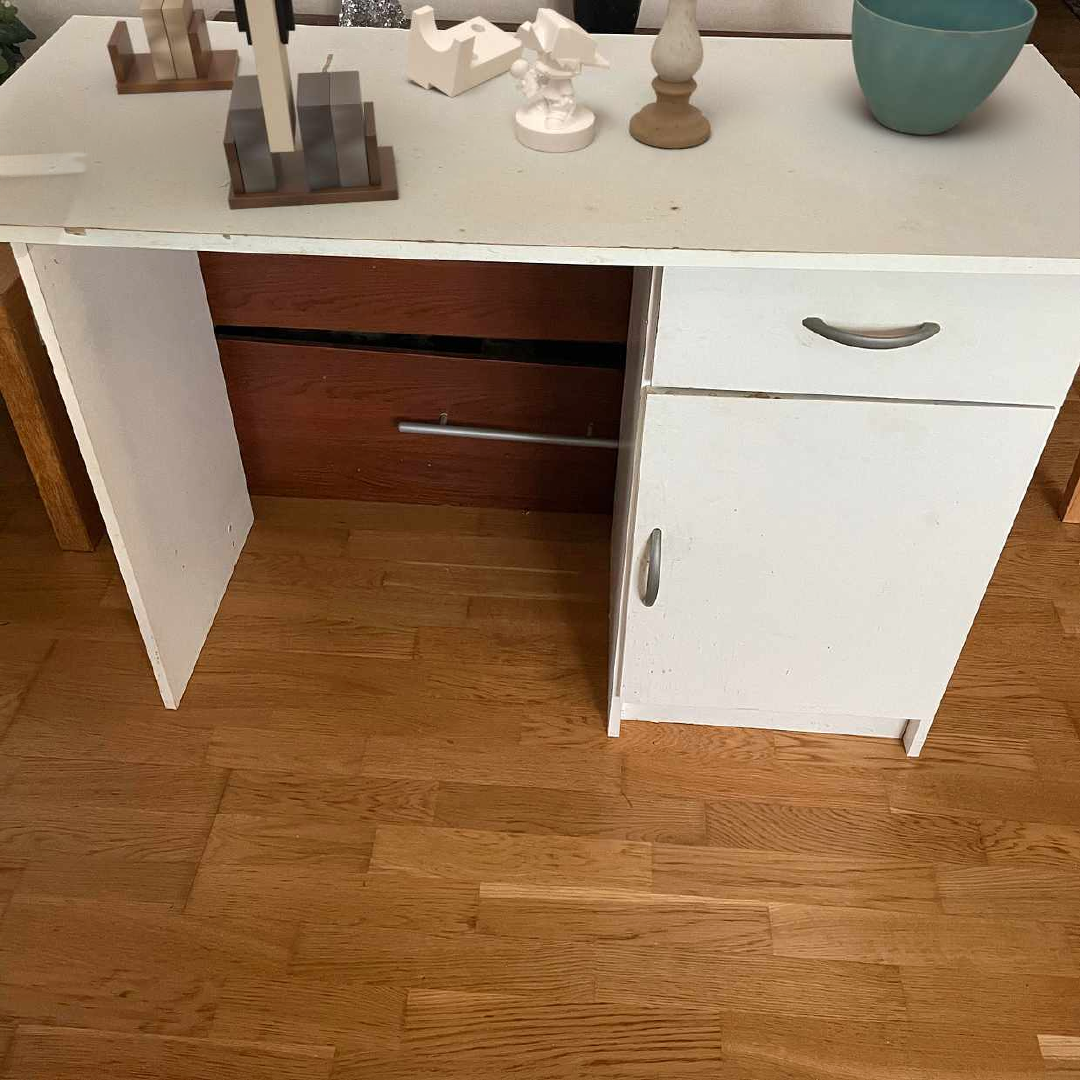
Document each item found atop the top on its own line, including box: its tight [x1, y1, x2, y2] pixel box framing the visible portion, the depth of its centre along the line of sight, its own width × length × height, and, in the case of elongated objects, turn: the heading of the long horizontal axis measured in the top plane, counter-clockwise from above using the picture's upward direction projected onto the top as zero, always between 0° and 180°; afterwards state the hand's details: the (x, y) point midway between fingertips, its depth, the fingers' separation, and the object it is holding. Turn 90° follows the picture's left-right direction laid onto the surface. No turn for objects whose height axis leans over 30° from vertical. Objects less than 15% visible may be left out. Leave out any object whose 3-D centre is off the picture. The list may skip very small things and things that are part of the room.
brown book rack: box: [106, 0, 240, 95], centre depth 117 cm, size 13×10×9 cm
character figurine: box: [510, 7, 611, 153], centre depth 105 cm, size 9×10×12 cm
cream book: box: [245, 0, 297, 152], centre depth 92 cm, size 2×8×14 cm, turn 9°
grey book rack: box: [222, 70, 399, 210], centre depth 98 cm, size 16×10×9 cm, turn 99°
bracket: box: [404, 4, 524, 98], centre depth 119 cm, size 13×7×8 cm, turn 144°
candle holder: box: [628, 0, 712, 149], centre depth 103 cm, size 9×9×20 cm
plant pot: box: [851, 0, 1038, 136], centre depth 109 cm, size 18×18×12 cm
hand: (268, 38), depth 91 cm, fingers closed on cream book, 2 cm apart
